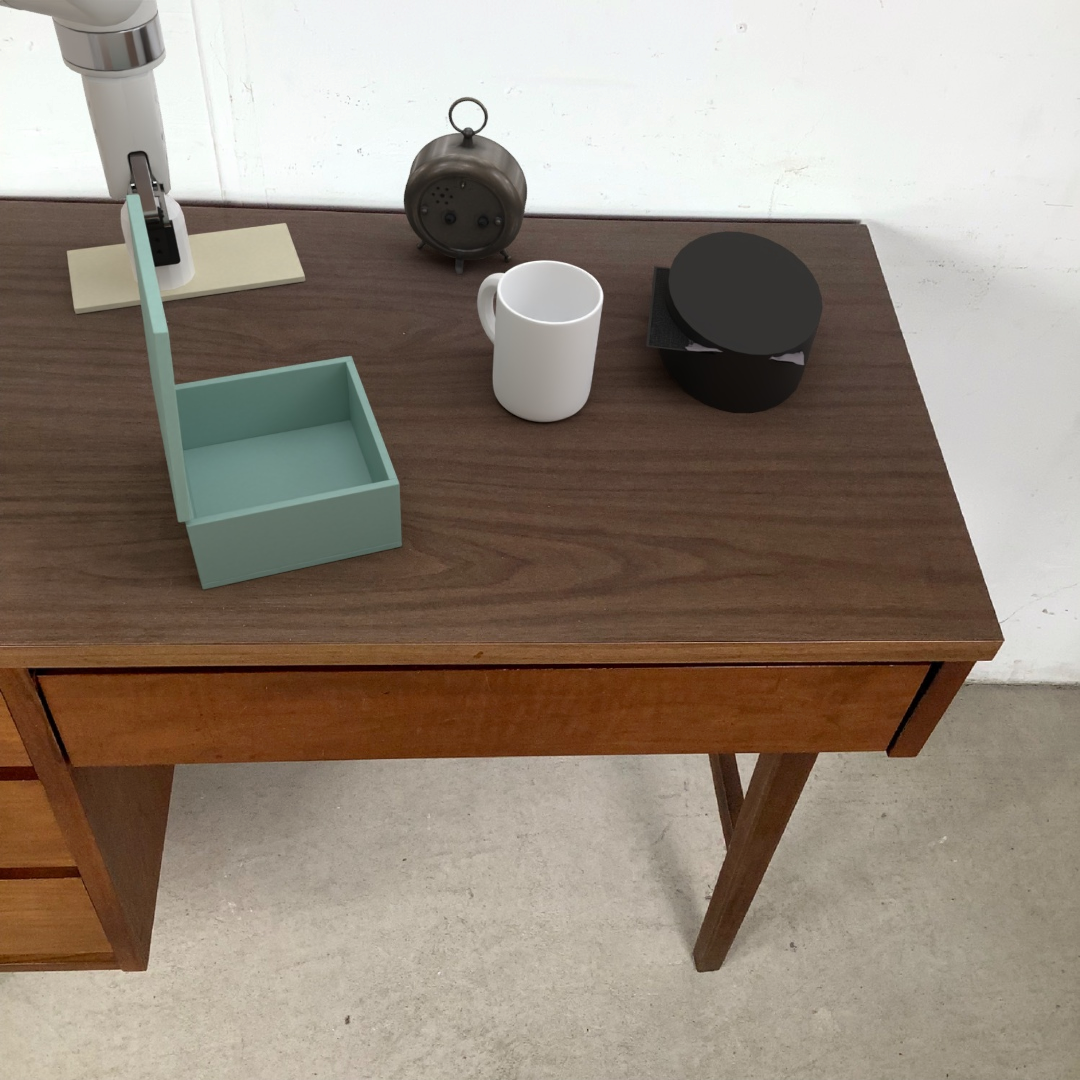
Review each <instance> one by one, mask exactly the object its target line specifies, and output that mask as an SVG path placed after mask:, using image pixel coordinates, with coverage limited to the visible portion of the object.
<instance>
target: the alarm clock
mask: <svg viewBox="0 0 1080 1080" xmlns="http://www.w3.org/2000/svg"><path fill="white" fill-rule="evenodd" d="M464 102H472V103H474V104H476V105H477V106H478V107H480V109H481V110H482V112H483V115H484V120H483V123H482V124H481V126H480V127H479V128H478V129H477V130H474V129H473V128H472V127H470V126H469V127H468V126H467V127H465V128H463V129H461V128H459V127H458V126H457V125H456V124H455V122H454V119H453V111H454V109H455V107H456V106H457V105H459V104H460V103H464ZM447 114H448V120H449V123H450V125H451V126H452V128H453V130H455V131H457V132H455V133H449V134H444V135H441V136H438V137H436V138H434V139H432V140H431V141H429V142H428V143H426V144H425V145H424V146H423V147H422V148H421V149H420V150H419V151H418V152H417V154H416V155H415V157H414V159H413V161H412V163H411V166H410V170H409V175H408V178H407V180H406V184H405V187H404V192H403V208H404V209H403V210H404V214H405V217H406V219H407V221H408V223H409V226H410V227H411V229H412V231H413V232H414V233H415V235H416V236H417V237H418V238H419V239H420V240H421V242H418V243H417V245H416V248H417V249H418V250H422V249H424V247H425V246H428V247H429V248H431V249H433V250H434V251H436V252H437V253H439V254H442V255H444V256H447V257H450V258H453V259H455V266H454V268H455V269H454V270H455V273H456V274H457V275H461V274H462V273H463V270H464V261H472V260H481V259H486V258H489V257H492V256H495V255H497V254H500V255H502V256H503V257H504V261H505V262H507V263H509V262H511V261H512V256H511V255H510V254H508V251H507V248H508V247H509V246H510V245H511V244H512V243H513V242H514V241H515V239H516V238H517V236H518V235H519V233H520V230H521V227H522V225H523V220H524V217H525V210H526V205H527V200H528V184H527V180H526V176H525V172H524V170H523V169H522V167H521V165H520V163H519V161H518V160H517V159H516V158H515V157H514V156H513V155H512V153H511V152H510V151H509V150H508V149H506V148H505V147H504V146H503V145H501V144H500V143H498V142H496V141H495V140H493V139H491V138H489V137H486V136H483V135H480V134H479V133H481V132H482V131H483V130H484V129H485V127H486V126H487V124H488V120H489V113H488V110H487V108H486V106H485V105H484V104H483V103H482V102H481V101H480V100H478V99H477V98H475V97H472V96H471V97H470V96H464V97H460V98H458V99H456V100H455V101H454V102H453V103H452V104H451V105H450V107H449V109H448V113H447Z"/></svg>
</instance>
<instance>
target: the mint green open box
mask: <svg viewBox="0 0 1080 1080" xmlns="http://www.w3.org/2000/svg"><path fill="white" fill-rule="evenodd" d="M175 391H176V399H177V407H178V416H179V424H180V432H181V441H182V449H183V457H184V466H185V474H186V482H187V491H188V499H189V507H190V516H191V520H190V521H185V522H184V524H185V529H186V532H187V537H188V539H189V544H190V547H191V550H192V555H193V558H194V562H195V566H196V570H197V573H198V577H199V581H200V584H201V588H202V590H208V589H214V588H218V587H222V586H226V585H232V584H236V583H240V582H245V581H250V580H255V579H259V578H264V577H268V576H272V575H278V574H281V573H286V572H291V571H296V570H300V569H305V568H309V567H314V566H318V565H323V564H327V563H332V562H336V561H340V560H346V559H351V558H356V557H361V556H364V555H370V554H374V553H378V552H383V551H387V550H393V549H397V548H402V546H403V541H402V540H403V539H402V515H401V512H402V511H401V486H400V485H401V483H400V481H399V479H398V477H397V473H396V471H395V468H394V465H393V463H392V461H391V458H390V455H389V452H388V450H387V446H386V444H385V441H384V439H383V436H382V434H381V431H380V428H379V426H378V423H377V420H376V417H375V414H374V412H373V410H372V407H371V404H370V401H369V399H368V395H367V393H366V391H365V388H364V385H363V383H362V380H361V378H360V375H359V373H358V369H357V366H356V364H355V362H354V359H353V356H352V355H348V356H342V357H341V356H340V357H336V358H335V357H334V358H329V359H323V360H317V361H310V362H306V363H299V364H298V363H297V364H293V365H287V366H280V367H274V368H268V369H262V370H257V371H250V372H245V373H239V374H233V375H226V376H220V377H214V378H209V379H208V378H207V379H203V380H196V381H190V382H184V383H183V382H182V383H178V384H175Z"/></svg>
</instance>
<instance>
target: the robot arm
mask: <svg viewBox="0 0 1080 1080" xmlns="http://www.w3.org/2000/svg"><path fill="white" fill-rule="evenodd" d="M157 3H158V2H157V0H0V7H5V8H9V9H14V10H18V11H26V12H30V13H35V14H39V15H43V16H48V17H51V19H52V21H53V22H52V24H53V26H54V31H55V35H56V39H57V42H58V46H59V50H60V53H61V57H62V62H63V63H64V65H65V66H66V67H67V68H68V69H69V70H71V71H73V72H75V73H77V74H80V76H81V77H80V78H81V83H82V87H83V92H84V96H85V102H86V105H87V106H86V107H87V110H88V114H89V117H90V122H91V126H92V131H93V134H94V138H95V142H96V146H97V151H98V154H99V158H100V162H101V166H102V169H103V170H102V171H103V174H104V178H105V182H106V187H107V190H108V195H109V197H110V198H111V199H113V200H114V201H117V202H118V201H119V200H121V199H122V200H123V199H126V195H139V196H140V201H141V205H142V210H143V215H144V220H145V224H146V229H147V234H148V238H149V243H150V248H151V252H152V257H153V262H154V266H155V267H159V266H166V265H174V264H178V263H180V261H181V260H180V255H179V250H178V245H177V240H176V236H175V231H174V226H173V221H172V220H169V217H168V212H167V207H166V203H165V198H164V193H165V195H166V194H168V195H169V193H170V191H171V190H172V185H171V175H170V167H169V157H168V150H167V142H166V134H165V127H164V122H163V117H162V111H161V105H160V99H159V95H158V89H157V84H156V79H155V72H154V69H157V68H158V67H159V66H160V65H161V64H163V63H164V61H165V59H166V56H167V51H166V46H165V41H164V36H163V31H162V26H161V25H162V24H161V19H160V14H159V8H158V4H157ZM155 197H158V201H159V205H160V207H159V206H156V201H155Z"/></svg>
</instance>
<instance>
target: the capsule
mask: <svg viewBox="0 0 1080 1080" xmlns="http://www.w3.org/2000/svg"><path fill="white" fill-rule="evenodd" d="M164 198H165V203H166V207H167V212H168V217H169V220H172V221H173V226H174V231H175V236H176V240H177V245H178V250H179V255H180V260H181V261H180V263H178V264H174V265H166V266H159V267H155V271H156V276H157V281H158V285H159V290H160V291H164V290H172V289H176V288H178V287H181V286H184V285H185V284H187V283H188V282H189V281H191V280H192V278H193V276H194V274H195V270H194V264H193V259H192V254H191V249H190V244H189V239H188V235H189V234H188V230H187V224H186V220H185V215H184V212H183V210H182V208H181V205H180V204H179V203H178V202H177V201H176V200H175V199H174V198H173V197H172V196H170V195H169V193H168V194H166V195H165V193H164ZM155 201H156V206H159V207H160V205H159V201H158V197H155ZM120 224H121V225H120V226H121V231H122V234H123V238H124V244H125V243H126V247H127V251H128V255H129V259H130V263H131V267H132V271H133V275H134V279H135V281H136V282H137V283H138V280H137V273H136V265H135V258H134V251H133V244H132V237H131V230H130V222H129V215H128V208H127V201H126V200H125V201H124V203H123V205H122V207H121V209H120Z"/></svg>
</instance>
